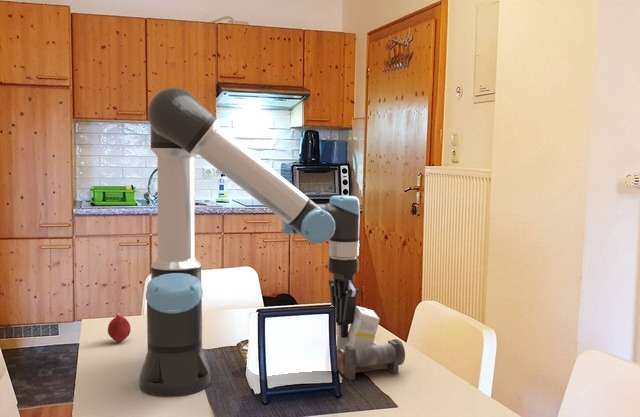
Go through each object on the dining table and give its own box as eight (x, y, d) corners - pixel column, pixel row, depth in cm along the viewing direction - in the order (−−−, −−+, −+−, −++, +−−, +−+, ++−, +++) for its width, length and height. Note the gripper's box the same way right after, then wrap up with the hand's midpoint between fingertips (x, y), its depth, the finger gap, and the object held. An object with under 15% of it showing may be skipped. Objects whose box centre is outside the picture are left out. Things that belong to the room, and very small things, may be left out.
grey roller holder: (353, 382, 135) (353, 349, 135) (314, 352, 156) (315, 323, 155) (404, 374, 140) (405, 343, 140) (361, 346, 161) (361, 318, 161)
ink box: (368, 365, 147) (381, 318, 146) (348, 360, 146) (361, 313, 146) (361, 353, 155) (373, 309, 155) (342, 349, 155) (355, 305, 154)
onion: (134, 339, 165) (133, 310, 164) (125, 346, 159) (124, 316, 159) (113, 338, 166) (113, 310, 165) (104, 345, 160) (103, 315, 159)
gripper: (369, 260, 149) (366, 354, 151) (346, 252, 160) (344, 339, 163) (341, 262, 146) (339, 358, 148) (319, 253, 157) (318, 342, 160)
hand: (341, 348), depth 155 cm, fingers closed
